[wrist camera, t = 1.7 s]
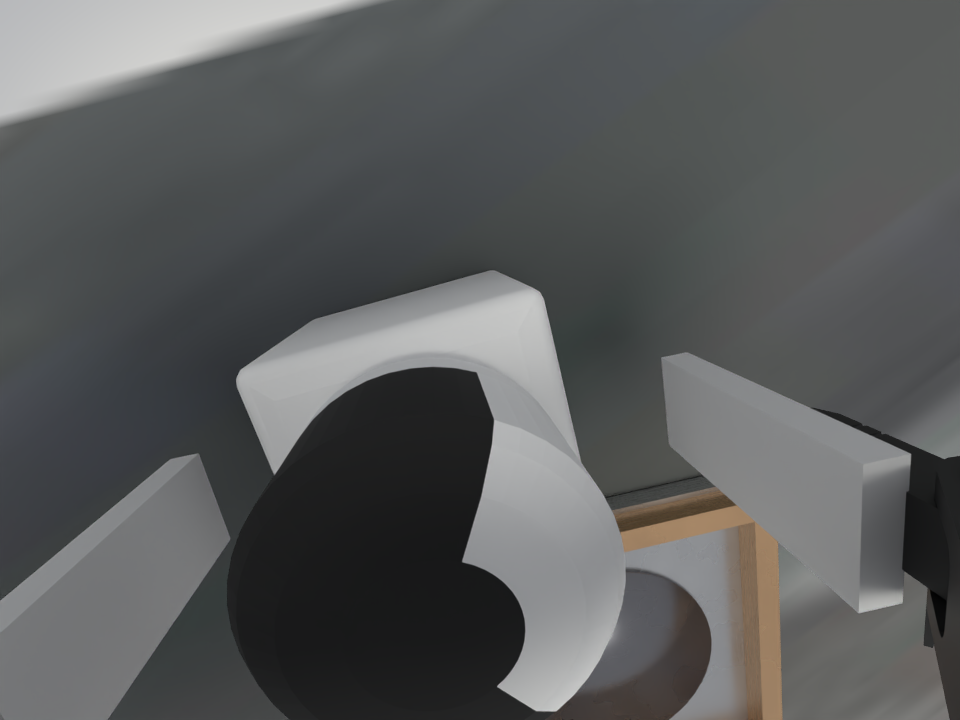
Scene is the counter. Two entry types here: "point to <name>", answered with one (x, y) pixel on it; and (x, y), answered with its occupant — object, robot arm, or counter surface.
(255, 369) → the container
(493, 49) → the counter surface
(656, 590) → the wooden square frame
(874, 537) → the robot arm
